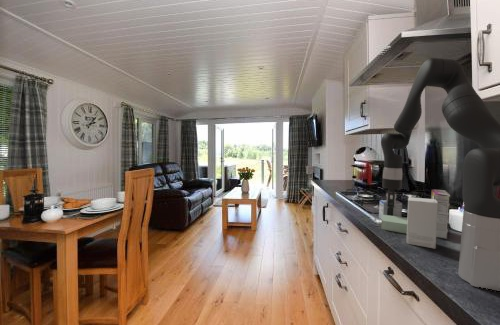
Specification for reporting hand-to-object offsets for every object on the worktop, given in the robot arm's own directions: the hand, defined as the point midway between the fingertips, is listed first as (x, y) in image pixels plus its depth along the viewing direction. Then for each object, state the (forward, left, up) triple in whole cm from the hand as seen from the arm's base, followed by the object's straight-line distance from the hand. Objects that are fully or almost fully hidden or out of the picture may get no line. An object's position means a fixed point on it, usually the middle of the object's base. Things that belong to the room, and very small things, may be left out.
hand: (389, 214), depth 108 cm
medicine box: (0, 0, -3) cm, 3 cm away
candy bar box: (-9, -16, -3) cm, 19 cm away
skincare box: (-25, -9, -3) cm, 27 cm away
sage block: (-11, -2, -3) cm, 12 cm away
